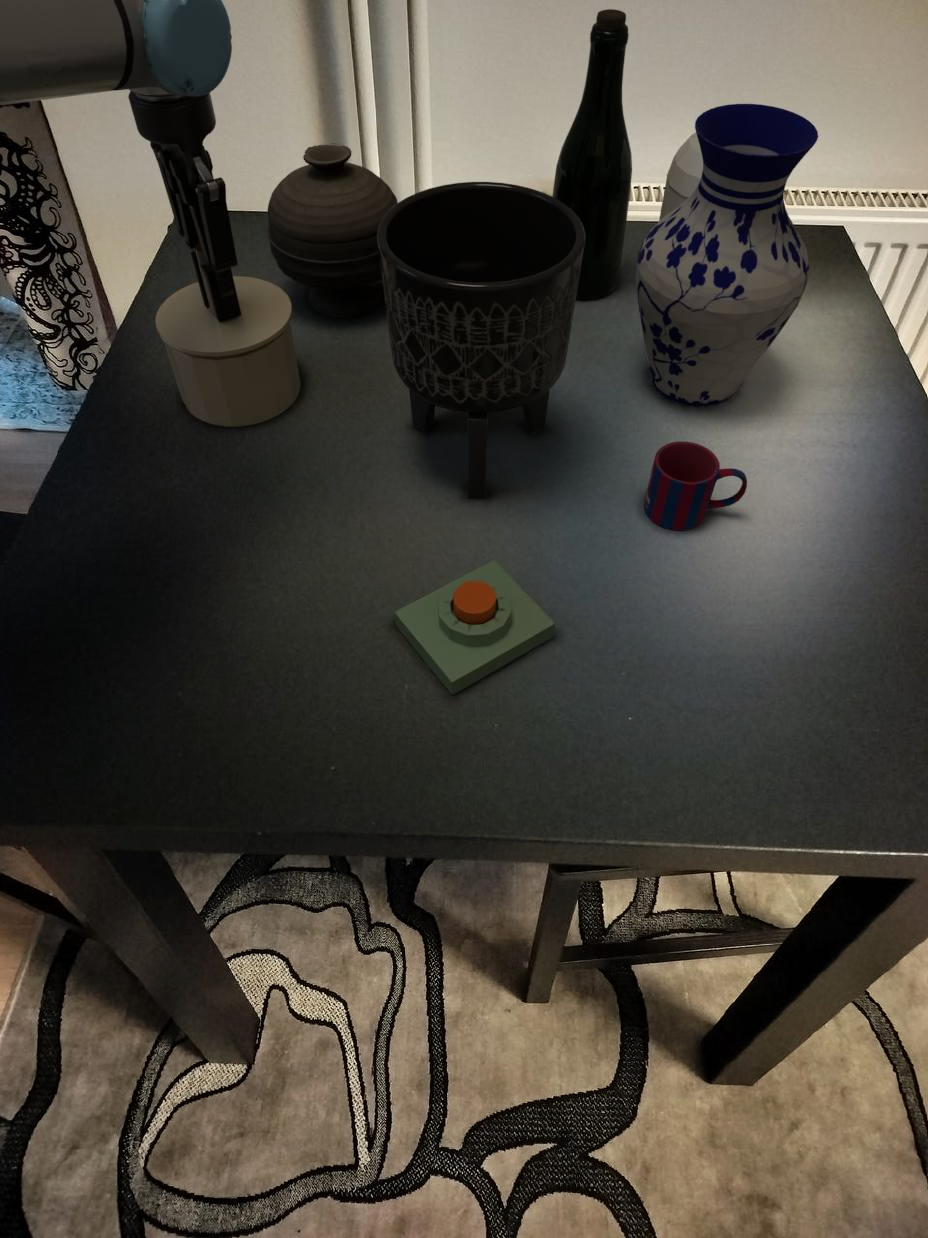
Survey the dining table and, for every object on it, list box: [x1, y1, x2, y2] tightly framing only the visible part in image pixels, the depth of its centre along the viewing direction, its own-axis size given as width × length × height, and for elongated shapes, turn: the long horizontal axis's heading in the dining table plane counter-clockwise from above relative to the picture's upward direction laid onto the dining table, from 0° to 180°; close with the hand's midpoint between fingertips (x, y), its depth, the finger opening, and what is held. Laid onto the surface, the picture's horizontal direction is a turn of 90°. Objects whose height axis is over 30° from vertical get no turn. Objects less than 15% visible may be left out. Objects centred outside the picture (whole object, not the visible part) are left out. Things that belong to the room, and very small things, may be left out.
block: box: [394, 559, 556, 696], centre depth 83 cm, size 12×10×4 cm
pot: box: [266, 142, 399, 318], centre depth 113 cm, size 18×18×20 cm
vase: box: [635, 103, 819, 408], centre depth 97 cm, size 19×19×30 cm
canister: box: [163, 322, 302, 428], centre depth 104 cm, size 15×15×10 cm
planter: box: [377, 181, 586, 500], centre depth 91 cm, size 20×20×26 cm
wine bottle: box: [551, 8, 633, 300], centre depth 110 cm, size 10×10×33 cm
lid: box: [154, 242, 293, 357], centre depth 97 cm, size 16×16×9 cm
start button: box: [453, 581, 496, 625], centre depth 81 cm, size 4×4×2 cm
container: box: [658, 132, 703, 222], centre depth 117 cm, size 14×13×20 cm
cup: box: [643, 441, 748, 531], centre depth 92 cm, size 7×10×7 cm
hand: (222, 309), depth 99 cm, fingers closed on lid, 3 cm apart
